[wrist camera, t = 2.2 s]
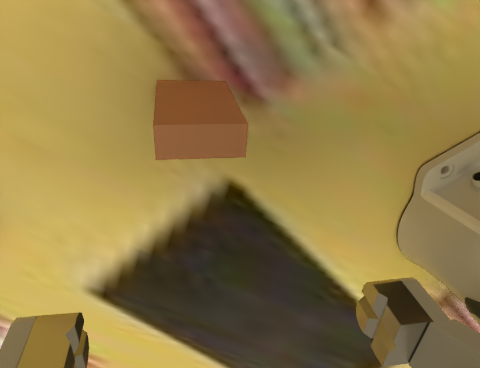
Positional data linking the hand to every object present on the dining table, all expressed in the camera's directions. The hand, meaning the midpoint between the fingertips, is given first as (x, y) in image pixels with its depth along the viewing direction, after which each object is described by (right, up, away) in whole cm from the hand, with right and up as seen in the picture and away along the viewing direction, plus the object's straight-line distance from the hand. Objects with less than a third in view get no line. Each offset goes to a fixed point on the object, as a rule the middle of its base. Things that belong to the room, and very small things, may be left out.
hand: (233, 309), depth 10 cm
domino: (-4, +10, +16) cm, 20 cm away
